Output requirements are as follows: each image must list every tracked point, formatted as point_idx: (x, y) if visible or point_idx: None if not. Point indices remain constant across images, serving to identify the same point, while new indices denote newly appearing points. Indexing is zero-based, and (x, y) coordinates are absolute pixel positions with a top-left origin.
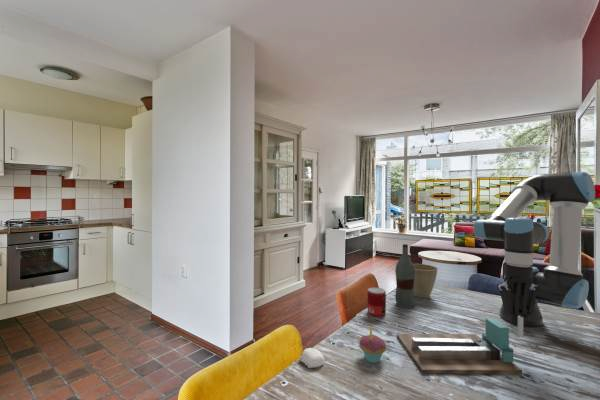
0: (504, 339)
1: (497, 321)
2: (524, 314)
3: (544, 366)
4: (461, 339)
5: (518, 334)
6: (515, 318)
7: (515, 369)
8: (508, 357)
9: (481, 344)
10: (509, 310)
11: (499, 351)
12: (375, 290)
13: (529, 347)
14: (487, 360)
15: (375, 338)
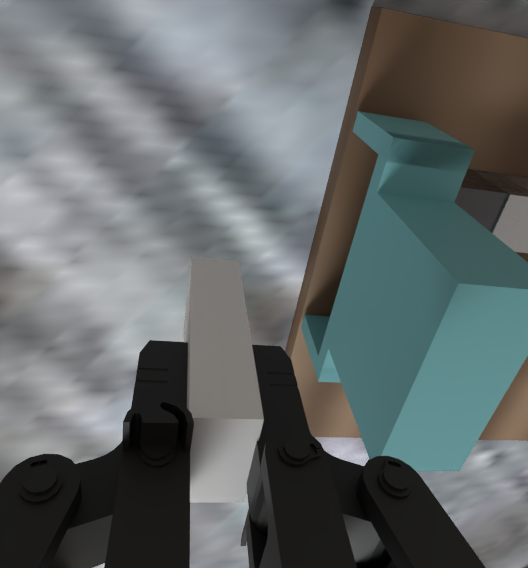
0: (441, 224)
1: (414, 419)
2: (165, 460)
3: (98, 74)
4: None
5: (239, 278)
6: (282, 418)
7: (423, 26)
8: (406, 126)
9: None
10: (444, 527)
11: None
12: None
13: (6, 309)
14: (495, 167)
15: None
